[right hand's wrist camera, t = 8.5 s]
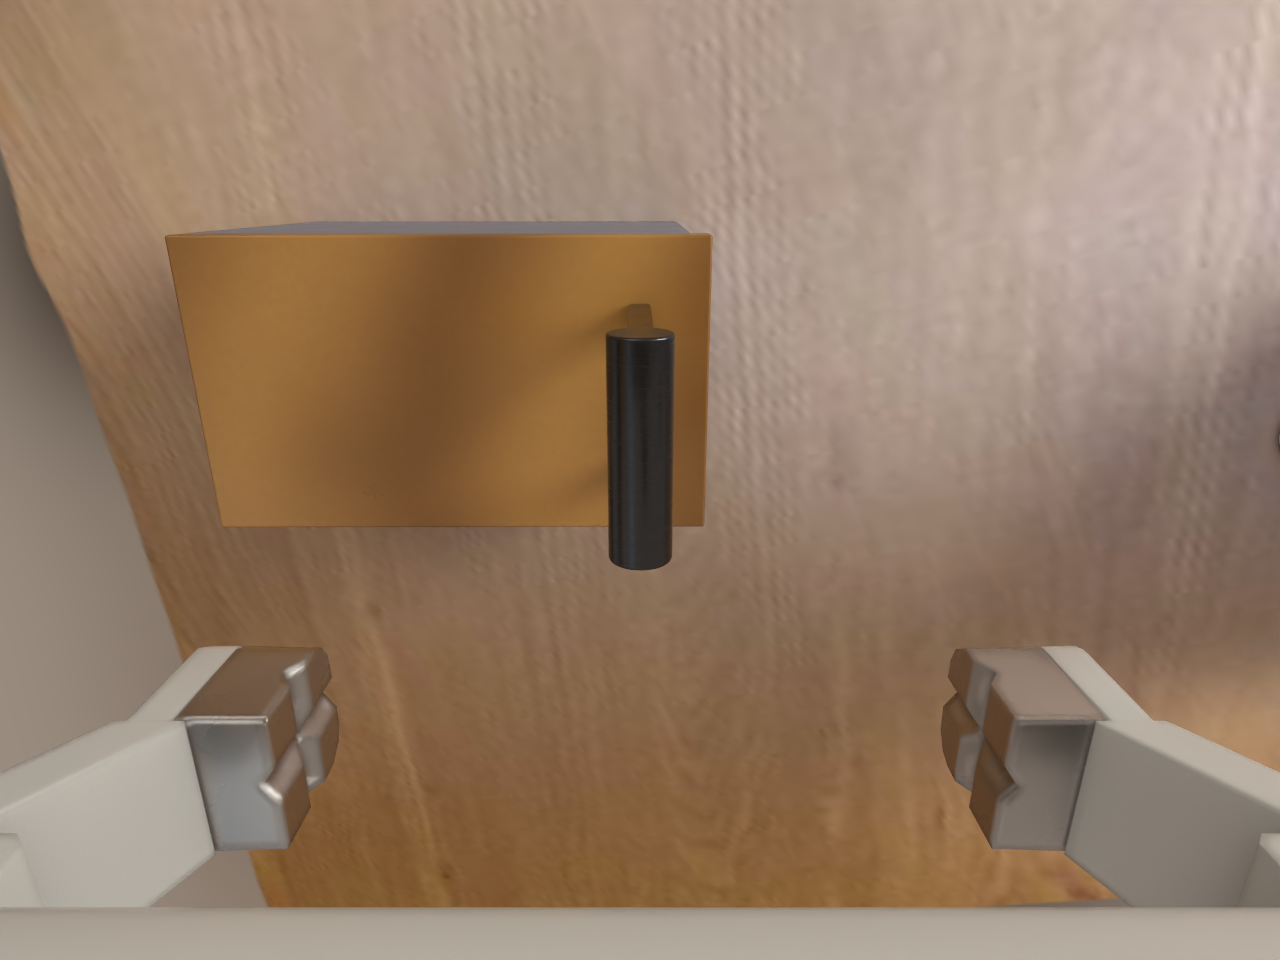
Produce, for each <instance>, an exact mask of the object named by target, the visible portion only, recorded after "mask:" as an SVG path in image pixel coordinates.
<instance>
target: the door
mask: <svg viewBox="0 0 1280 960" xmlns="http://www.w3.org/2000/svg"><path fill="white" fill-rule="evenodd" d="M712 239H713V237H712V235H710V234H708V233H295V234H174V235H167V236H165V240H166V245H167V250H168V255H169V260H170V266H171V271H172V276H173V281H174V286H175V291H176V296H177V301H178V306H179V311H180V316H181V321H182V326H183V331H184V337H185V342H186V347H187V352H188V357H189V362H190V367H191V372H192V377H193V382H194V387H195V392H196V397H197V403H198V408H199V413H200V418H201V423H202V428H203V433H204V438H205V443H206V448H207V453H208V458H209V463H210V469H211V474H212V479H213V484H214V489H215V494H216V499H217V504H218V509H219V514H220V519H221V524H222V527H560V526H608V532H609V558H610V560H611V562H612V563H614V564H615V565H617V566H619V567H622V568H625V569H630V570H651V569H656V568H659V567H662V566H664V565H666V564H667V563H668V562H669V561H670V560H671V557H672V526H703V525H704V510H705V476H706V442H707V408H708V374H709V341H710V307H711V273H712Z"/></svg>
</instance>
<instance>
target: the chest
mask: <svg viewBox="0 0 1280 960" xmlns="http://www.w3.org/2000/svg"><path fill="white" fill-rule="evenodd" d="M295 233H690V232H689V231H687V230H686V229H685V228H684V227H682V226H681V225H680V224H678V223H677V222H308V223H296V224H285V225H274V226H263V227H252V228H241V229H229V230H218V231H207V232H196V233H187V234H295Z"/></svg>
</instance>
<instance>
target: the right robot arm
mask: <svg viewBox="0 0 1280 960" xmlns="http://www.w3.org/2000/svg"><path fill="white" fill-rule="evenodd" d="M1279 445H1280V434H1279ZM331 678H332V675H331V670H330V665H329V659H328V655H327V654H326V653H325V652H324V651H323V650H322V649H321V648H308V647H258V646H246V647H242V646H207V647H202V648H198V649H197V650H196V651H195V652H194V653H193V654H192V655H191V656H190V657H189V658H188V659H187V660H186V661H185V662H184V663H183V664H182V665H181V666H180V667H179V668H178V669H177V670H176V671H175V672H174V673H173V674H172V675H171V676H170V677H169V678H168V679H167V680H166V681H165V682H164V683H163V684H162V685H161V686H160V687H159V688H158V689H157V690H156V691H155V692H154V693H153V694H152V695H151V696H150V697H149V698H148V700H147V701H146V702H145V703H144V704H143V705H142V706H141V707H140V708H139V709H138V710H137V711H136V712H135V713H134V714H133V715H132V716H131V717H130V718H129V719H128V720H127V721H112V722H110V723H108V724H106V725H103V726H101V727H99V728H97V729H95V730H93V731H90V732H88V733H86V734H84V735H82V736H79V737H77V738H75V739H73V740H71V741H68V742H66V743H64V744H62V745H60V746H57V747H55V748H53V749H51V750H49V751H46V752H44V753H42V754H40V755H37V756H35V757H33V758H31V759H29V760H27V761H24V762H22V763H20V764H18V765H16V766H13V767H11V768H9V769H7V770H5V771H2V772H0V960H1280V772H1277V771H1275V770H1273V769H1271V768H1269V767H1266V766H1264V765H1262V764H1260V763H1258V762H1255V761H1253V760H1251V759H1249V758H1247V757H1244V756H1242V755H1240V754H1238V753H1236V752H1234V751H1231V750H1229V749H1227V748H1225V747H1223V746H1220V745H1218V744H1216V743H1214V742H1212V741H1209V740H1207V739H1205V738H1203V737H1201V736H1198V735H1196V734H1194V733H1192V732H1190V731H1187V730H1185V729H1183V728H1181V727H1179V726H1176V725H1174V724H1172V723H1170V722H1168V721H1153V720H1152V719H1151V718H1150V717H1149V716H1148V715H1147V714H1146V713H1145V712H1144V711H1143V710H1142V709H1141V708H1140V707H1139V706H1138V705H1137V703H1136V702H1135V701H1134V700H1133V699H1132V698H1131V697H1130V696H1129V695H1128V694H1127V693H1126V692H1125V691H1124V690H1123V689H1122V688H1121V687H1120V686H1119V685H1118V684H1117V683H1116V682H1115V681H1114V680H1113V679H1112V678H1111V677H1110V676H1109V675H1108V674H1107V673H1106V672H1105V671H1104V670H1103V669H1102V668H1101V667H1100V666H1099V665H1098V664H1097V663H1096V662H1095V661H1094V660H1093V659H1092V658H1091V657H1090V656H1089V655H1088V654H1087V652H1086V651H1085V650H1084V649H1081V648H1079V647H1076V646H1073V645H1071V646H1045V647H1016V648H976V649H956V650H955V653H954V655H953V657H952V659H951V663H950V669H949V674H948V678H949V680H950V681H951V683H952V684H953V686H954V688H955V689H956V691H957V693H956V694H955V695H954V696H953V697H952V698H951V699H950V700H949V701H948V702H947V703H946V704H945V706H944V707H943V714H942V723H941V736H942V747H943V753H944V756H945V759H946V762H947V766H948V768H949V770H950V772H951V774H952V776H953V778H954V780H955V781H956V782H958V783H959V784H961V785H962V786H964V787H965V788H967V789H968V790H969V791H971V792H972V793H971V799H970V805H969V808H970V810H971V811H972V813H973V815H974V817H975V819H976V821H977V822H978V824H979V826H980V828H981V830H982V832H983V833H984V835H985V837H986V839H987V841H988V842H989V844H990V846H991V848H992V849H1018V850H1053V851H1065V853H1064V854H1065V855H1066V856H1067V857H1069V858H1070V859H1071V860H1072V861H1074V862H1075V863H1076V864H1077V865H1079V866H1080V867H1081V868H1082V869H1084V870H1085V871H1086V872H1087V873H1089V874H1090V875H1091V876H1092V877H1094V878H1095V879H1096V880H1098V881H1099V882H1100V883H1101V884H1103V885H1104V886H1105V887H1106V888H1108V889H1109V890H1110V891H1111V892H1113V893H1114V894H1115V895H1116V896H1118V897H1119V898H1120V899H1121V900H1123V901H1124V902H1125V903H1126V904H1128V905H1129V906H1130V907H150V906H151V905H153V904H154V903H155V902H156V901H158V900H159V899H160V898H161V897H163V896H164V895H165V894H166V893H168V892H169V891H170V890H171V889H173V888H174V887H175V886H176V885H178V884H179V883H180V882H182V881H183V880H184V879H185V878H186V877H188V876H189V875H190V874H192V873H193V872H194V871H195V870H197V869H198V868H199V867H200V866H202V865H203V864H204V863H205V862H207V861H208V860H209V859H210V858H212V857H213V856H214V855H215V851H226V850H261V849H288V848H289V846H290V844H291V843H292V841H293V839H294V837H295V835H296V833H297V832H298V830H299V828H300V826H301V824H302V822H303V821H304V819H305V817H306V815H307V813H308V811H309V809H310V808H311V805H310V799H309V793H308V792H309V791H310V790H312V789H313V788H315V787H316V786H318V785H319V784H321V783H322V782H324V781H325V780H326V778H327V776H328V774H329V772H330V770H331V768H332V766H333V763H334V759H335V755H336V750H337V746H338V742H339V720H338V713H337V707H336V706H335V704H334V703H333V702H332V701H331V700H330V699H329V698H328V697H327V696H326V695H325V694H324V693H323V691H324V689H325V688H326V686H327V684H328V683H329V681H330V680H331Z"/></svg>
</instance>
